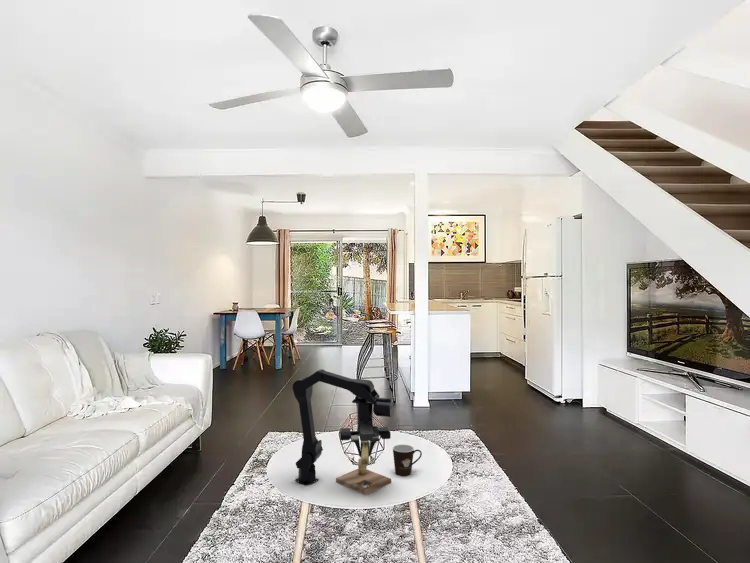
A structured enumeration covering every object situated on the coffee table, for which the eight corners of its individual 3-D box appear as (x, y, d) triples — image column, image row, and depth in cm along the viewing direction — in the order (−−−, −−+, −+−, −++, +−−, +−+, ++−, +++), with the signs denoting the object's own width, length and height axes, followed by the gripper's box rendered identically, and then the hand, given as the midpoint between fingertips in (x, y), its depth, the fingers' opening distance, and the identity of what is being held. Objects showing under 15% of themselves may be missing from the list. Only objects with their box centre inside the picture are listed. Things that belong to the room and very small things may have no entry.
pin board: (335, 481, 178) (336, 463, 178) (361, 470, 188) (361, 453, 188) (366, 495, 167) (366, 475, 167) (391, 482, 178) (391, 464, 178)
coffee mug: (391, 476, 183) (391, 451, 183) (393, 468, 191) (393, 443, 191) (420, 478, 181) (421, 453, 181) (421, 469, 190) (421, 445, 190)
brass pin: (360, 464, 171) (360, 443, 171) (360, 461, 175) (360, 440, 175) (369, 464, 172) (369, 443, 172) (368, 461, 175) (368, 440, 175)
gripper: (341, 422, 164) (340, 466, 164) (393, 420, 166) (392, 464, 166) (339, 413, 175) (339, 454, 175) (388, 411, 177) (388, 452, 177)
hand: (364, 456), depth 173 cm, fingers closed on brass pin, 3 cm apart
